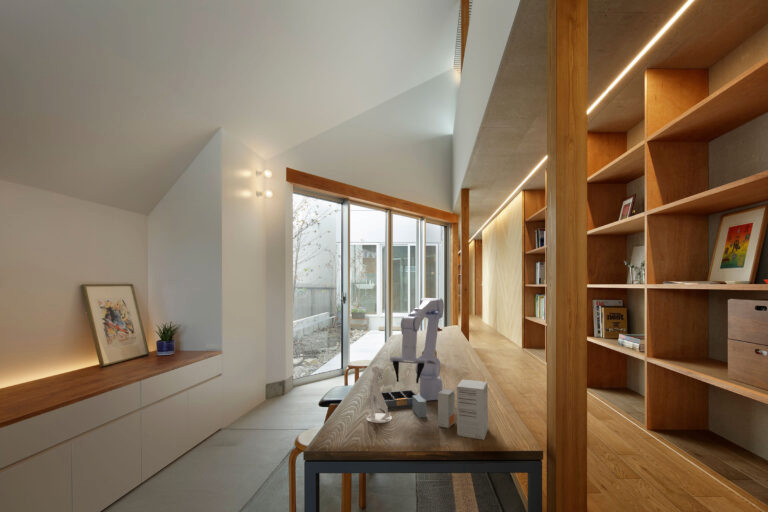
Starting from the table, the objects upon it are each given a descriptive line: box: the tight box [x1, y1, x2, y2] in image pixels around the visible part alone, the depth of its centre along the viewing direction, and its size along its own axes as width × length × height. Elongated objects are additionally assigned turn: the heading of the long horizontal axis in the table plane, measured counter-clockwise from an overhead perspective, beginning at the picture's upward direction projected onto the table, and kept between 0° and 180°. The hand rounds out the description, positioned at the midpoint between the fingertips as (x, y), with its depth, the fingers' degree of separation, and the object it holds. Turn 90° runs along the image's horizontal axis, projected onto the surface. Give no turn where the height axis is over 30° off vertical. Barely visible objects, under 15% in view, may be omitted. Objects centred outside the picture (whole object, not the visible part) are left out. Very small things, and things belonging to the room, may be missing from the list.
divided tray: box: [381, 389, 418, 411], centre depth 168 cm, size 16×11×4 cm
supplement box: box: [456, 379, 489, 440], centre depth 138 cm, size 10×9×17 cm
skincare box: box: [437, 388, 456, 429], centre depth 145 cm, size 6×4×12 cm
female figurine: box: [351, 364, 393, 424], centre depth 153 cm, size 11×16×20 cm
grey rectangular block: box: [412, 395, 427, 419], centre depth 156 cm, size 3×8×6 cm, turn 14°
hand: (407, 382), depth 156 cm, fingers open, 7 cm apart
